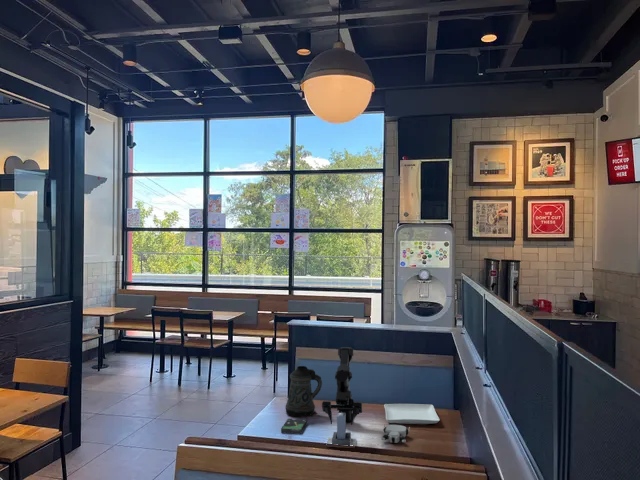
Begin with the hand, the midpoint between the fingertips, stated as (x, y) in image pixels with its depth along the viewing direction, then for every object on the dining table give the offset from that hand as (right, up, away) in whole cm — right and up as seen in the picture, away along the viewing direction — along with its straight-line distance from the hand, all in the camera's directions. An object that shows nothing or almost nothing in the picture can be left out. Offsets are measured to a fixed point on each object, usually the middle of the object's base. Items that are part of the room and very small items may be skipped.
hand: (341, 424), depth 214 cm
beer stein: (-19, -12, +46) cm, 52 cm away
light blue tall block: (0, -8, 0) cm, 8 cm away
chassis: (0, -9, 0) cm, 9 cm away
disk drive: (-23, -11, +21) cm, 33 cm away
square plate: (+39, -11, +36) cm, 54 cm away
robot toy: (+26, -9, +5) cm, 28 cm away
